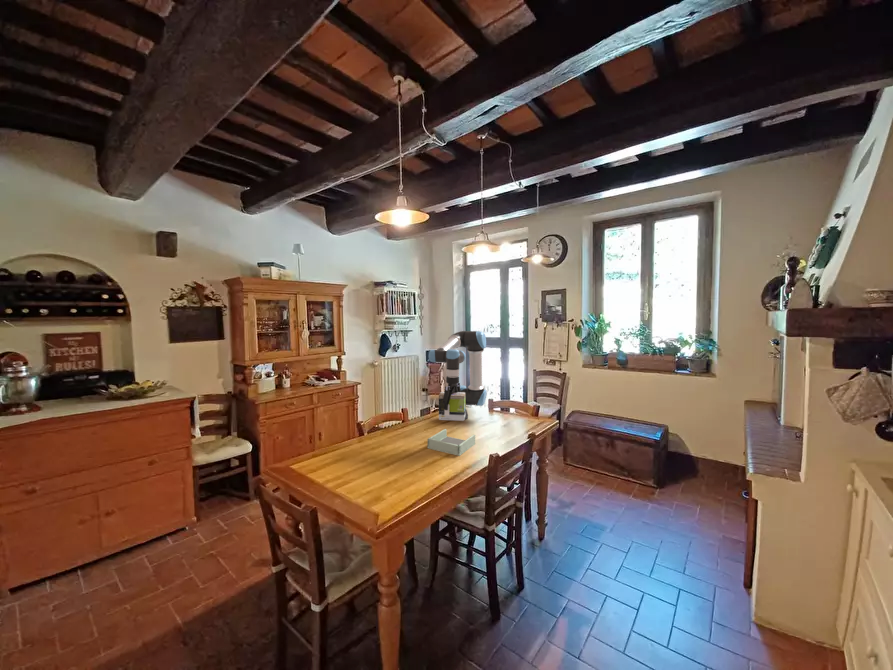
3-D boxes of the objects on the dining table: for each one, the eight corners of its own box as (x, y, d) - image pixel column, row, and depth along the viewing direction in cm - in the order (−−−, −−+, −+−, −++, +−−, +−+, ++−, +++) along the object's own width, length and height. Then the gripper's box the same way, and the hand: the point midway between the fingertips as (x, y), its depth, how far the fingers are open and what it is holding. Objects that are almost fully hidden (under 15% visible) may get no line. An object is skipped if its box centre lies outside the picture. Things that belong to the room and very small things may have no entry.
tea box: (465, 416, 218) (465, 391, 216) (464, 421, 208) (464, 396, 206) (440, 415, 219) (440, 390, 218) (438, 420, 210) (438, 395, 208)
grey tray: (444, 437, 228) (445, 428, 228) (475, 444, 218) (475, 435, 217) (427, 448, 211) (427, 439, 211) (459, 455, 201) (459, 446, 200)
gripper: (457, 372, 224) (456, 406, 226) (436, 379, 203) (435, 416, 205) (467, 373, 220) (467, 408, 222) (447, 380, 199) (447, 419, 201)
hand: (452, 412), depth 213 cm, fingers closed on tea box, 12 cm apart
